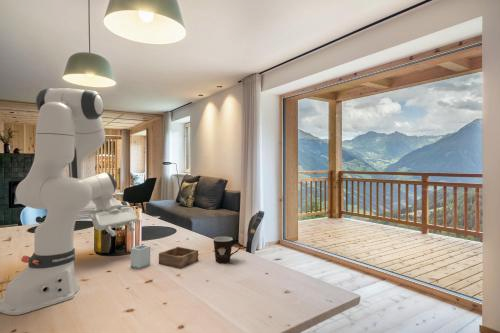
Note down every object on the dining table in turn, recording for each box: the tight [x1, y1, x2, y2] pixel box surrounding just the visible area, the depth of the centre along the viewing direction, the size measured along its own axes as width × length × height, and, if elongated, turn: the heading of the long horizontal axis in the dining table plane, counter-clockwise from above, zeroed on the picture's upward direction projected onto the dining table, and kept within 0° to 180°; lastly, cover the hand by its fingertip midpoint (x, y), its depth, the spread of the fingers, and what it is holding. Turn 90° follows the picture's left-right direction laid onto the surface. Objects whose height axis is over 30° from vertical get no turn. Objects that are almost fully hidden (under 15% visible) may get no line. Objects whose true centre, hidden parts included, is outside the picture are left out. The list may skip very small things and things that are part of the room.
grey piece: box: [130, 244, 151, 270], centre depth 130 cm, size 6×5×8 cm
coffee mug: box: [213, 236, 242, 264], centre depth 137 cm, size 12×9×10 cm
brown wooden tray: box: [158, 246, 199, 269], centre depth 136 cm, size 12×12×4 cm
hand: (124, 233), depth 135 cm, fingers open, 8 cm apart
